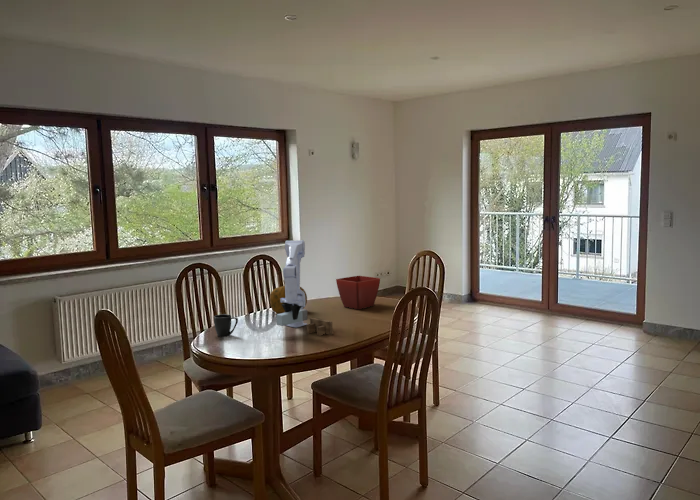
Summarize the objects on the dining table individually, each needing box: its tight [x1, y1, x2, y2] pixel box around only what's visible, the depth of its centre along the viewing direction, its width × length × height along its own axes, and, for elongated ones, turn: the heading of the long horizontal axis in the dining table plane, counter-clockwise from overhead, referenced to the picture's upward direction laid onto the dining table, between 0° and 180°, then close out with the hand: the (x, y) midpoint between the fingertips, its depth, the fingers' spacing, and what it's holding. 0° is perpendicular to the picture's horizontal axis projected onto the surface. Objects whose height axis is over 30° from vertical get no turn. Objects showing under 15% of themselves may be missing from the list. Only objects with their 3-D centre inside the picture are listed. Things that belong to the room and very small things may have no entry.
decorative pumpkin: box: [269, 279, 308, 314], centre depth 307 cm, size 20×21×20 cm
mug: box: [213, 313, 239, 338], centre depth 261 cm, size 8×12×10 cm
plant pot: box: [335, 275, 381, 310], centre depth 319 cm, size 19×19×17 cm
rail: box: [275, 308, 308, 327], centre depth 261 cm, size 16×4×5 cm, turn 137°
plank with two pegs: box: [306, 317, 334, 337], centre depth 261 cm, size 14×6×6 cm, turn 47°
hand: (292, 318), depth 261 cm, fingers closed on rail, 4 cm apart
